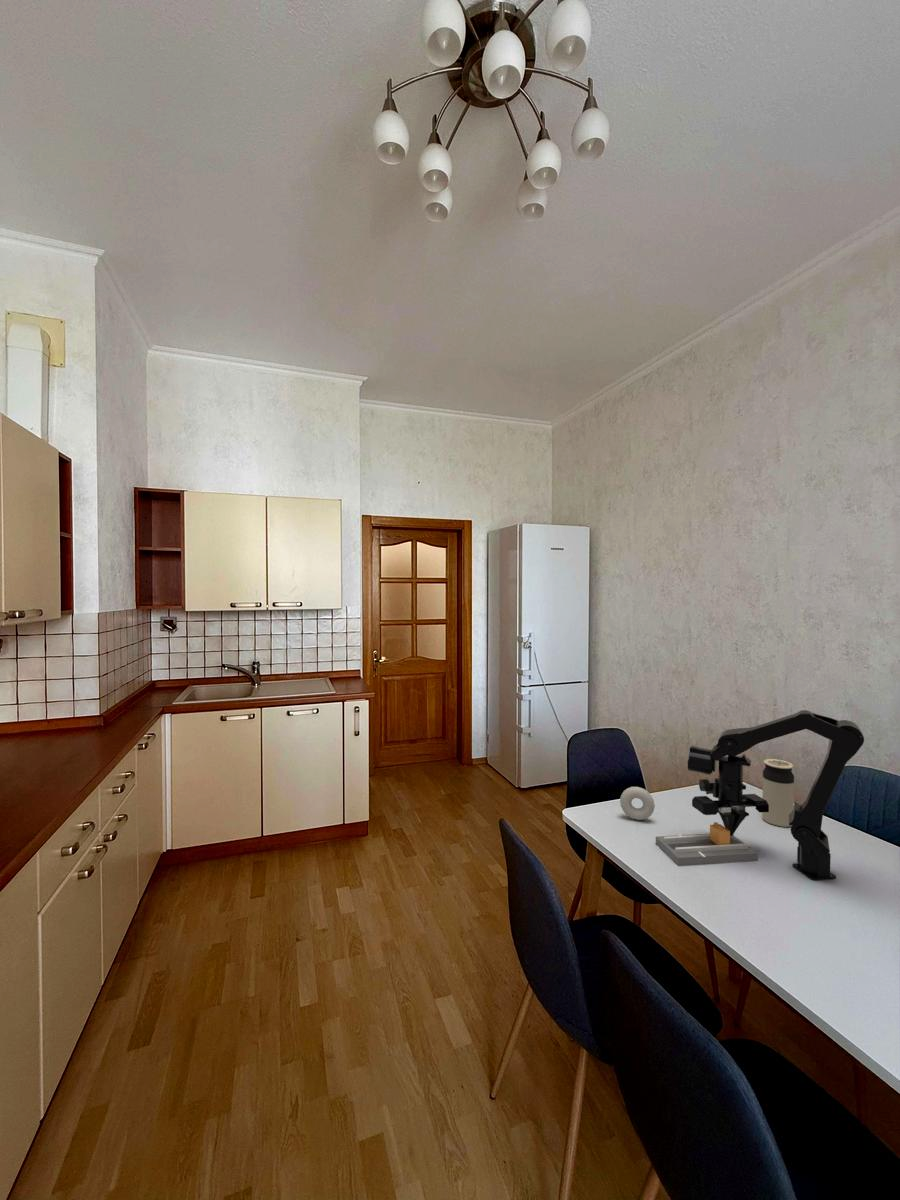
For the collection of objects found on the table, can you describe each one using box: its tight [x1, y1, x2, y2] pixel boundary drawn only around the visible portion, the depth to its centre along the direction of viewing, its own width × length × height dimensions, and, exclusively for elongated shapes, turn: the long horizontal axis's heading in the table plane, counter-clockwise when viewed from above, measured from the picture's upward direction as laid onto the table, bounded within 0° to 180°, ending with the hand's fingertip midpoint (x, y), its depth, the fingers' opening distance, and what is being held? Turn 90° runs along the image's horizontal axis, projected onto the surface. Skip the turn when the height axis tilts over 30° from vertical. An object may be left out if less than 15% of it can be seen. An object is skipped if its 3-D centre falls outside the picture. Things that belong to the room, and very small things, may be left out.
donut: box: [619, 786, 656, 821], centre depth 151 cm, size 10×4×10 cm, turn 69°
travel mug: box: [761, 758, 795, 828], centre depth 150 cm, size 8×8×18 cm
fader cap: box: [709, 821, 730, 845], centre depth 133 cm, size 4×3×5 cm
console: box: [655, 833, 759, 867], centre depth 132 cm, size 12×22×3 cm, turn 96°
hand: (729, 835), depth 133 cm, fingers closed
